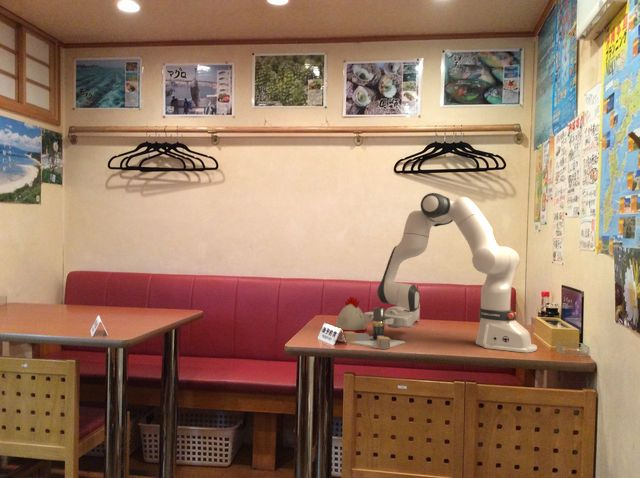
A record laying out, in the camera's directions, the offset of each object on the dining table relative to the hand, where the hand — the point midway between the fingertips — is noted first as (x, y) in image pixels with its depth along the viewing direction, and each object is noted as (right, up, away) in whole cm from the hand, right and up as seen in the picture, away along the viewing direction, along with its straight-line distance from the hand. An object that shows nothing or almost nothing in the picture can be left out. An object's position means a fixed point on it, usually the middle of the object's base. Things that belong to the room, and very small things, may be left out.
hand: (377, 321), depth 198 cm
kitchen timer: (-9, -8, +23) cm, 26 cm away
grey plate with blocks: (-3, -8, 0) cm, 9 cm away
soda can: (+22, -9, +48) cm, 54 cm away
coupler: (0, -7, +1) cm, 7 cm away
